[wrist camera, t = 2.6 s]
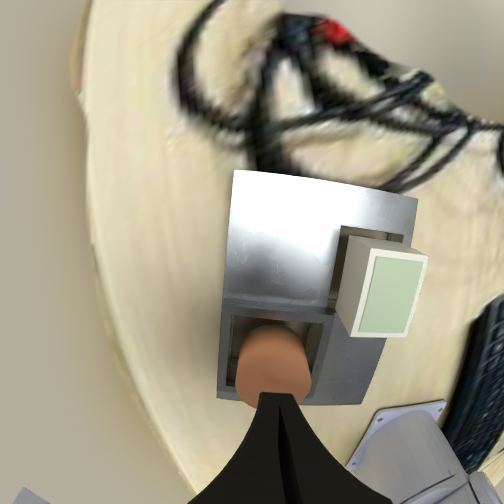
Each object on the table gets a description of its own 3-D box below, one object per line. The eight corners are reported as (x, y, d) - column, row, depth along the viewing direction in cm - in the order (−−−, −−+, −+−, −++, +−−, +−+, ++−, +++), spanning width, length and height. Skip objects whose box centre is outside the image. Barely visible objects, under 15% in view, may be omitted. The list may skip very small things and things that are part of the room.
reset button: (297, 378, 15) (302, 412, 13) (237, 373, 15) (232, 407, 13) (309, 327, 15) (318, 358, 12) (242, 321, 15) (238, 351, 12)
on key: (383, 312, 14) (406, 338, 11) (334, 309, 14) (351, 337, 11) (399, 242, 13) (429, 256, 10) (349, 235, 13) (371, 248, 10)
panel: (354, 387, 18) (364, 413, 15) (220, 379, 18) (214, 408, 16) (402, 196, 15) (427, 200, 12) (237, 171, 15) (232, 168, 12)
